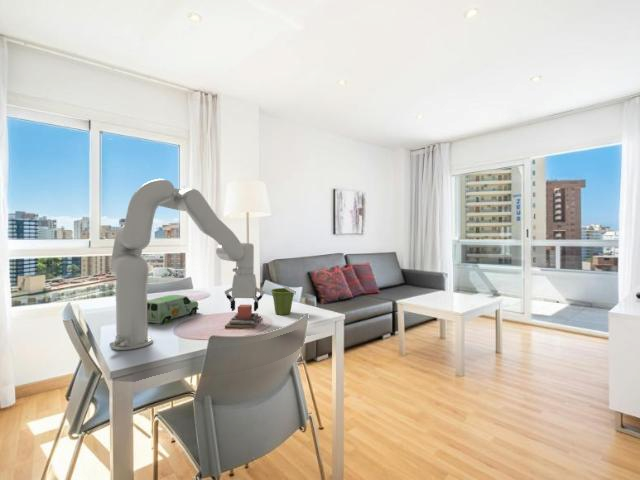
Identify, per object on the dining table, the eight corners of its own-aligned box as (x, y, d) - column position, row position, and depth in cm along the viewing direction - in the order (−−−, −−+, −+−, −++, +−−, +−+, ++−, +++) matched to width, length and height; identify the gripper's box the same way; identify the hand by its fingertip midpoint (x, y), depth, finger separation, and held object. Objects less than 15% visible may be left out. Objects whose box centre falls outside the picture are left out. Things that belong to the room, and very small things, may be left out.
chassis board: (254, 328, 135) (254, 322, 135) (224, 328, 135) (224, 322, 135) (261, 318, 151) (261, 312, 151) (234, 318, 151) (234, 312, 151)
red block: (249, 321, 143) (249, 307, 142) (237, 321, 143) (237, 307, 142) (251, 318, 148) (251, 304, 147) (240, 317, 148) (240, 304, 147)
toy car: (199, 313, 160) (199, 292, 160) (158, 327, 137) (158, 303, 137) (182, 311, 164) (182, 291, 164) (139, 324, 141) (139, 301, 141)
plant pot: (276, 317, 152) (276, 293, 152) (267, 312, 162) (267, 289, 162) (299, 314, 158) (299, 291, 158) (289, 309, 168) (289, 287, 168)
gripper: (222, 272, 141) (222, 312, 141) (263, 272, 141) (262, 312, 141) (227, 270, 148) (227, 308, 149) (266, 270, 148) (265, 308, 149)
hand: (244, 310), depth 145 cm, fingers open, 9 cm apart
